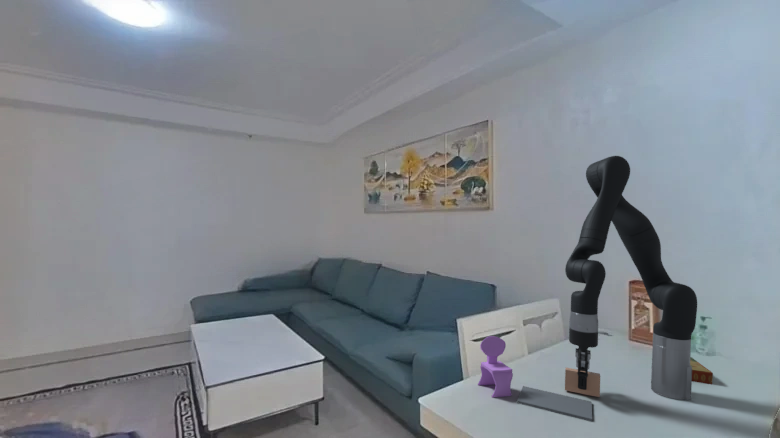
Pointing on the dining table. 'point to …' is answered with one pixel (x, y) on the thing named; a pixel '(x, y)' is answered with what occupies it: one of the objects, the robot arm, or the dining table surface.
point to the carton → (700, 372)
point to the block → (592, 382)
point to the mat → (556, 403)
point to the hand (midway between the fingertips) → (582, 387)
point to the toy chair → (495, 367)
